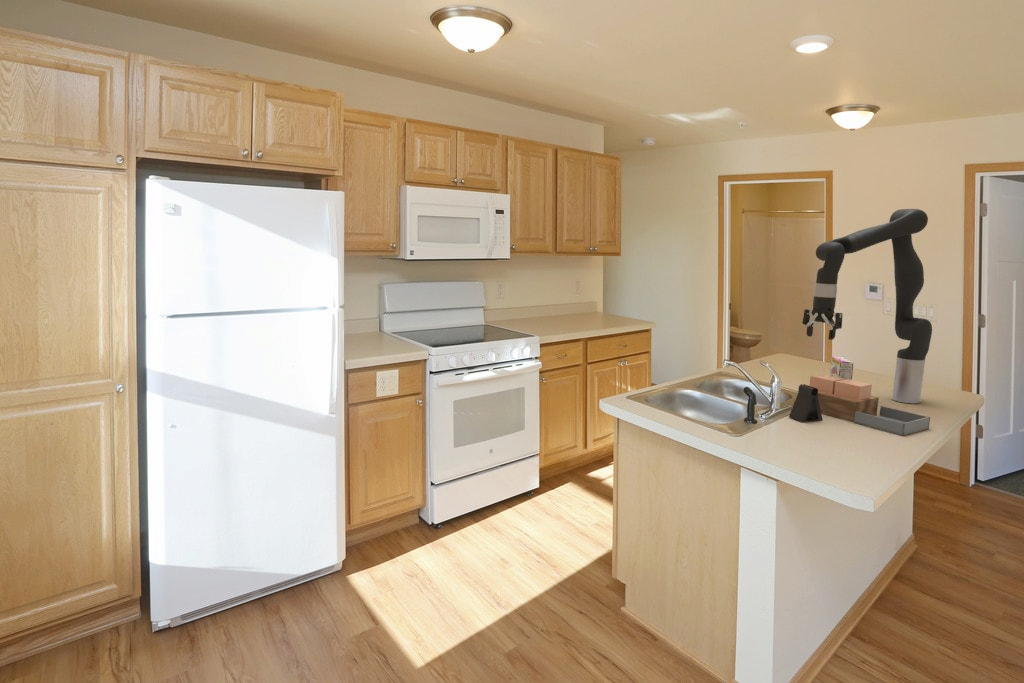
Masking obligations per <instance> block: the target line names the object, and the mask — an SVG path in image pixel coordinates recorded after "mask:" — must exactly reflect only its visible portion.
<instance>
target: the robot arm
mask: <svg viewBox="0 0 1024 683" xmlns="http://www.w3.org/2000/svg"><path fill="white" fill-rule="evenodd" d="M928 221H929V218H928V215H927V212H925V211H924V210H922V209H918V208H903V209H902V208H901V209H897V210H895V211H894V212H892V213H891V215H890V218H889V221H888V222H887V223H884V224H879V225H875V226H870V227H867V228H866V227H865V228H862V229H860V230H858V231H855V232H852V233H850V234H848V235H845V236H843V237H838V238H834V239H832V240H828V241H825V242H822V243H821V244H820V245H818V246H817V247H816V250H815V256H816V258H817V259H818V260H820V261H822V262H824V263H823V266H822V267H820V268H818V270H817V273H816V281H815V286H814V290H813V292H814V293H813V300H812V309H811V308H806V309H804V311H803V315H802V316H803V317H802V324H803V325H805V326H806V335H807V337H812V336H813V333H814V325H815V324H817V323H824V324H826V325H827V327H828V328H829V331H828V340H830V341H831V340H834V339H835V338H836V333H837V332H836V331H837V330H840V329H842V326H843V315H844V313H843V312H835V308H836V302H837V293H838V286H837V285H838V279H839V272H840V269H841V268H842V265H843V262H844V259H845V255H847V254H854V253H857V252H859V251H862V250H864V249H867V248H870V247H873V246H875V245H877V244H881V243H883V242H886V241H889V240H891V245H892V253H893V265H894V266H893V268H894V284H895V285H894V287H895V318H894V320H895V321H894V330H895V331H894V332H895V334H896V336H897V338H899V339H900V340H903V341H909V345H908V346H907V347H906V348H900V349H898V350H897V354H896V363H895V369H894V370H895V371H894V379H893V385H892V386H893V388H892V396H891V397H892V398H891V399H892V400H893V401H896V402H899V403H904V404H905V403H906V404H920V402H921V396H922V388H923V381H924V372H925V364H926V356H927V354H928V352H929V350H930V344H931V340H932V333H933V327H932V326H933V325H932V322H931V321H930V320H929V319H926V318H921V317H914V303H915V301H916V299H917V297H918V296H919V294H920V293H921V291H922V290H923V286H924V283H925V276H924V274H925V273H924V270H925V269H924V266H923V263H922V261H921V259H920V257H919V256H918V253H917V252H916V249H915V248H914V246H913V238H912V235H915V234H918V233H920V232H922V231H923V230H925V228H926V227H927V225H928ZM811 315H812V317H811ZM833 318H834V319H833Z"/></svg>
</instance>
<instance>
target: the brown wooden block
mask: <svg viewBox="0 0 1024 683" xmlns="http://www.w3.org/2000/svg"><path fill="white" fill-rule="evenodd" d="M879 399H880V398H879V397H877V396H873V395H871V396H870V398H868V399H864V400H855V399H850V398H846V397H842V396H837V395H834V394H829V393H825V392H820V391H818V400H819V405H820V410H821V414H822V415H826V416H831V417H834V418H837V419H841V420H845V421H849V422H853V423H854V419H855V412H856V411H857V412H861V413H865V414H869V415H873V416H878V406H879Z"/></svg>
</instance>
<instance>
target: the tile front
mask: <svg viewBox="0 0 1024 683" xmlns="http://www.w3.org/2000/svg"><path fill="white" fill-rule="evenodd" d="M872 386H873V385H872V384H871V383H867V382H862V381H858V380H854V379H852V380H848V379H846V380H840V381H835V390H834V395H837V396H842V397H846V398H850V399H855V400H864V399H868V398H870V396H872V395H871V394H872Z"/></svg>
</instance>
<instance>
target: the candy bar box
mask: <svg viewBox="0 0 1024 683" xmlns="http://www.w3.org/2000/svg"><path fill="white" fill-rule="evenodd" d="M830 358H831V359H830V366H829V367H830V368H829V376H833V377H838V378H843V379H845V380H846V379H848V380H853V372H854V361H852V360H849V359H847V358H846V357H843V356H831V357H830Z"/></svg>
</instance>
